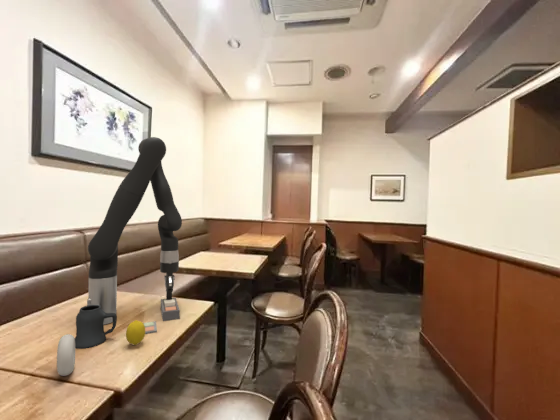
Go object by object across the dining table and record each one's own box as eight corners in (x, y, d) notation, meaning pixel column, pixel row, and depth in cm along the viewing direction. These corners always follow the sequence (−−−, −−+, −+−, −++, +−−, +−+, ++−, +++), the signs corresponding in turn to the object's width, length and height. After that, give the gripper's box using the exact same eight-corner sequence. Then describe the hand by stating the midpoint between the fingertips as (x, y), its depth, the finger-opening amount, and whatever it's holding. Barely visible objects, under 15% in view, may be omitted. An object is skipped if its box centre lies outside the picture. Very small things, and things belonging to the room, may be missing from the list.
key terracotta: (165, 316, 111) (165, 310, 111) (165, 313, 115) (165, 307, 115) (176, 315, 113) (176, 309, 113) (175, 312, 117) (175, 306, 117)
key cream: (164, 309, 116) (164, 303, 116) (164, 306, 120) (164, 300, 120) (175, 307, 118) (175, 302, 118) (174, 304, 122) (174, 299, 122)
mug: (67, 350, 87) (68, 313, 87) (78, 337, 95) (79, 304, 95) (112, 345, 90) (113, 310, 90) (118, 333, 99) (119, 301, 99)
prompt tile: (141, 334, 98) (141, 332, 98) (141, 324, 106) (141, 322, 106) (156, 332, 100) (156, 329, 100) (156, 322, 108) (156, 320, 108)
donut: (60, 366, 78) (61, 330, 78) (75, 362, 80) (76, 327, 80) (55, 385, 70) (55, 345, 70) (72, 381, 72) (73, 341, 71)
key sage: (163, 307, 121) (164, 302, 121) (163, 304, 125) (163, 299, 125) (173, 306, 123) (174, 301, 123) (173, 303, 126) (173, 298, 126)
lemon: (137, 350, 88) (137, 324, 87) (121, 348, 89) (122, 322, 89) (148, 342, 93) (149, 317, 93) (134, 340, 94) (134, 316, 94)
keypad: (162, 321, 110) (162, 312, 110) (160, 307, 125) (160, 299, 125) (179, 318, 113) (179, 310, 113) (175, 305, 128) (175, 297, 128)
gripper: (159, 258, 128) (159, 297, 128) (161, 264, 116) (160, 306, 116) (177, 257, 131) (176, 295, 131) (180, 262, 119) (179, 303, 119)
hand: (169, 300), depth 124 cm, fingers closed
